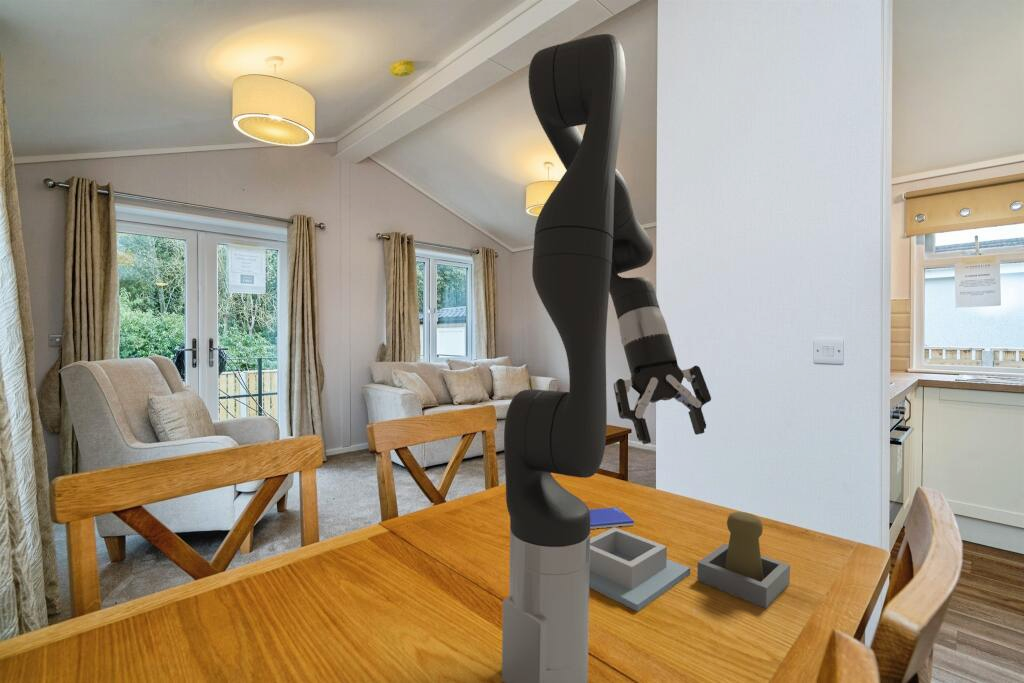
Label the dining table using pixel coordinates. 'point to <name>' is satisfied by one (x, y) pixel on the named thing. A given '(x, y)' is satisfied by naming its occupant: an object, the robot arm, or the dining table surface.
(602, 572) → the dock
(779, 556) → the dining table surface
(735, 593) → the holster
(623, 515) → the blue book
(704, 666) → the dining table surface
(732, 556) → the cork
